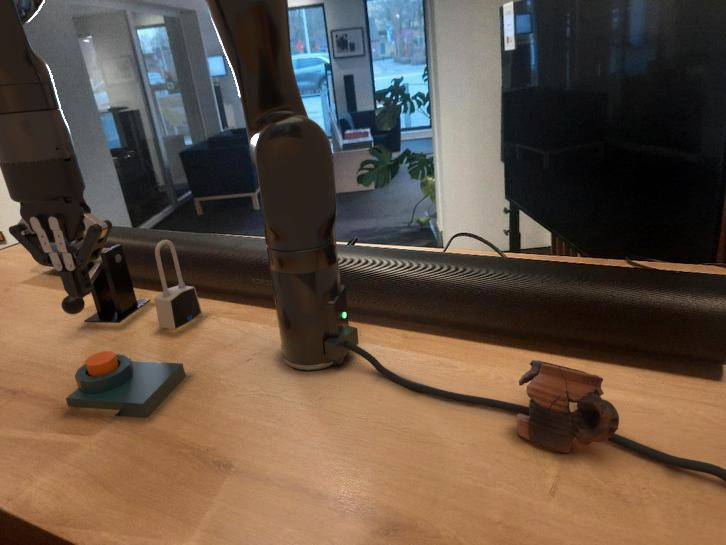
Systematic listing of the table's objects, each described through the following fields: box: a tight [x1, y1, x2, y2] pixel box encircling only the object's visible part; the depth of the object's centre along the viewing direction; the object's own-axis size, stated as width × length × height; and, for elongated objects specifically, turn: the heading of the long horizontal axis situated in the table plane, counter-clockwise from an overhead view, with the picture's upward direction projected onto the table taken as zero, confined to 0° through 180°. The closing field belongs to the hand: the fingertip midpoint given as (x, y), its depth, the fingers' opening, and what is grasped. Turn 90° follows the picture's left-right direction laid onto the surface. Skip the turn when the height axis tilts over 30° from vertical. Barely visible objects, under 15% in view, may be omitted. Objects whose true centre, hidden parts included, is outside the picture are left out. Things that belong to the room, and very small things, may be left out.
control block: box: [65, 353, 187, 419], centre depth 65 cm, size 12×9×4 cm
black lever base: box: [83, 244, 151, 324], centre depth 87 cm, size 9×7×13 cm
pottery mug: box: [516, 359, 620, 454], centre depth 52 cm, size 12×10×8 cm
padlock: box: [154, 239, 203, 330], centre depth 81 cm, size 7×4×15 cm, turn 155°
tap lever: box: [61, 247, 110, 315], centre depth 82 cm, size 13×3×3 cm, turn 168°
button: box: [84, 350, 119, 376], centre depth 64 cm, size 4×4×2 cm
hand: (81, 295), depth 61 cm, fingers closed
